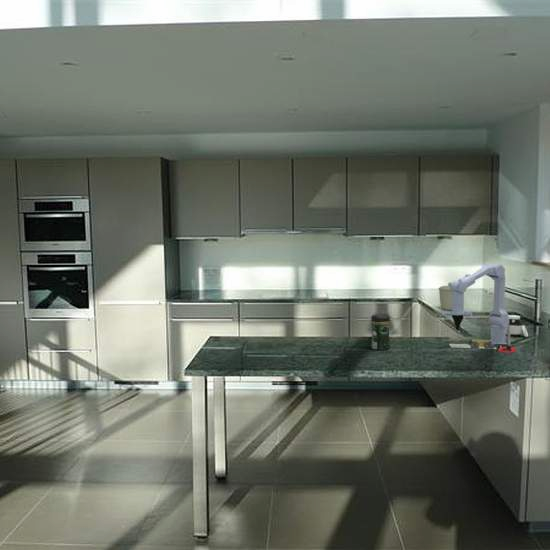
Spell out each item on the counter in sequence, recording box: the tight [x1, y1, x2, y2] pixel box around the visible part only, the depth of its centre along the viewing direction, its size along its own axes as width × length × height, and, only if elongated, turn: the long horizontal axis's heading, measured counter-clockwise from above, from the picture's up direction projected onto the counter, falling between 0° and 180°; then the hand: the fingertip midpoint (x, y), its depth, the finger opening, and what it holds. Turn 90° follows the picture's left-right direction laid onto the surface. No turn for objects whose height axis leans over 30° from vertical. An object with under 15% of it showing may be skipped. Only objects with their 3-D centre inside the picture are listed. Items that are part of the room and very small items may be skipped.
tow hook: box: [497, 326, 517, 354], centre depth 289 cm, size 8×13×9 cm
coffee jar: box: [370, 313, 391, 351], centre depth 298 cm, size 10×8×19 cm
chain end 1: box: [468, 340, 480, 349], centre depth 300 cm, size 8×4×2 cm, turn 170°
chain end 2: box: [483, 341, 497, 349], centre depth 299 cm, size 8×6×2 cm
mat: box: [448, 343, 498, 350], centre depth 301 cm, size 9×23×1 cm, turn 80°
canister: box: [438, 281, 453, 311], centre depth 431 cm, size 18×18×21 cm
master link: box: [471, 338, 490, 347], centre depth 299 cm, size 3×8×4 cm, turn 80°
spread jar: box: [505, 314, 529, 338], centre depth 328 cm, size 12×11×12 cm
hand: (457, 329), depth 298 cm, fingers closed
